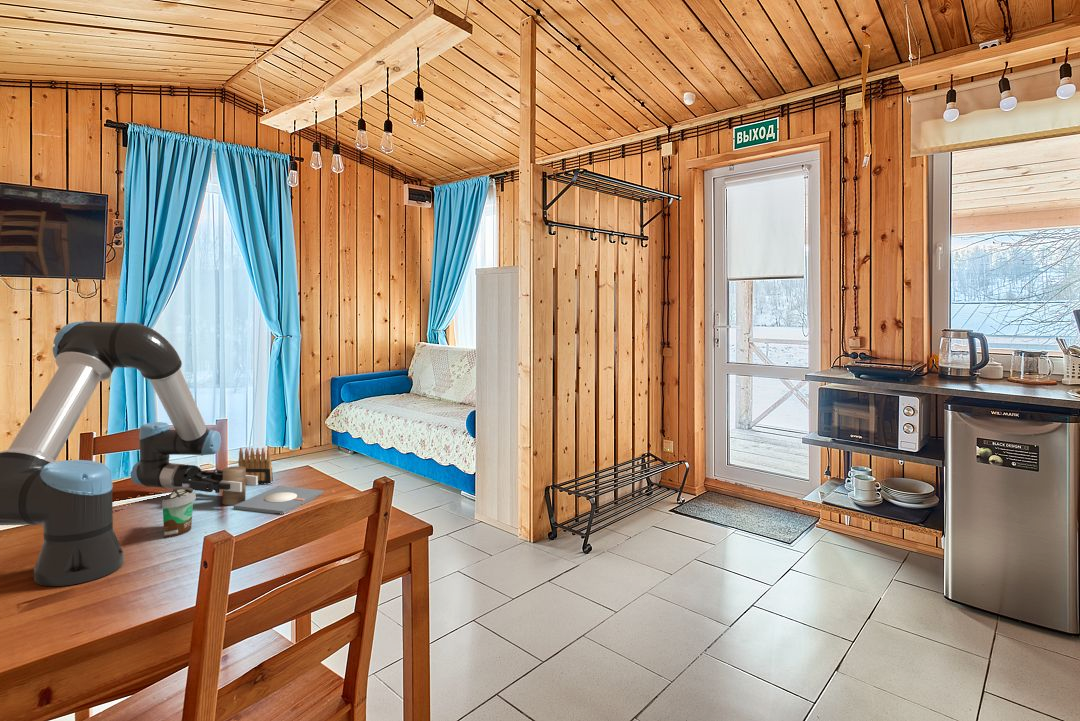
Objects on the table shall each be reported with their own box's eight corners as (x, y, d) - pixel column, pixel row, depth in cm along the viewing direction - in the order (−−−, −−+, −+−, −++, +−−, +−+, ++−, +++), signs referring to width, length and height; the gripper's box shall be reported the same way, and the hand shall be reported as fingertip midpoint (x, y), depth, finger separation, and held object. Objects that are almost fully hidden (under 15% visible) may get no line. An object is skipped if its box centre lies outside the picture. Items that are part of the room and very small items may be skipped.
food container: (191, 537, 143) (190, 498, 142) (162, 540, 141) (161, 500, 140) (200, 520, 155) (199, 484, 154) (174, 523, 152) (173, 486, 152)
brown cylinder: (236, 506, 166) (236, 472, 166) (217, 504, 167) (217, 470, 167) (249, 500, 172) (250, 467, 172) (232, 498, 173) (232, 465, 173)
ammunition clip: (272, 482, 190) (272, 447, 189) (270, 484, 188) (270, 448, 187) (239, 482, 190) (239, 446, 189) (237, 483, 188) (236, 447, 187)
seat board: (283, 514, 161) (283, 510, 161) (233, 509, 164) (233, 504, 164) (323, 493, 181) (323, 489, 180) (278, 488, 184) (278, 485, 184)
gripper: (206, 480, 183) (270, 487, 178) (155, 498, 164) (225, 506, 159) (206, 457, 182) (270, 463, 177) (154, 473, 163) (225, 480, 159)
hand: (249, 483), depth 168 cm, fingers closed on brown cylinder, 6 cm apart
